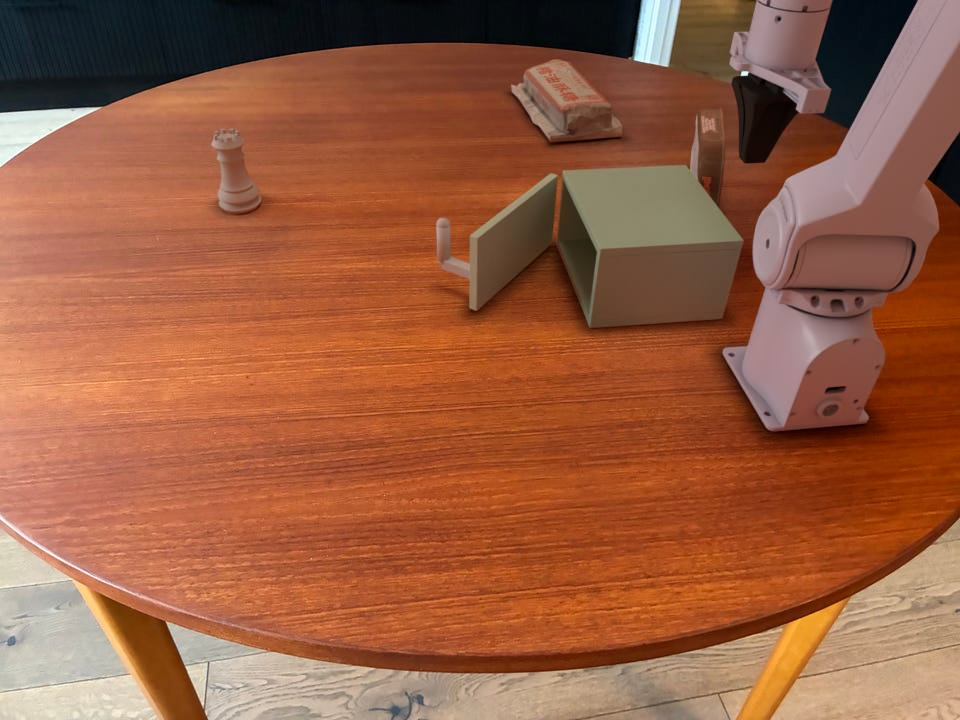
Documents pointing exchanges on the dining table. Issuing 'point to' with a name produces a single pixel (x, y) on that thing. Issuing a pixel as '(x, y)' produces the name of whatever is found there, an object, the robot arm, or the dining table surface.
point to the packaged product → (566, 103)
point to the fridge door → (503, 242)
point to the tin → (709, 151)
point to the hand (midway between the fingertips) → (752, 160)
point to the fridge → (645, 246)
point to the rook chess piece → (234, 174)
